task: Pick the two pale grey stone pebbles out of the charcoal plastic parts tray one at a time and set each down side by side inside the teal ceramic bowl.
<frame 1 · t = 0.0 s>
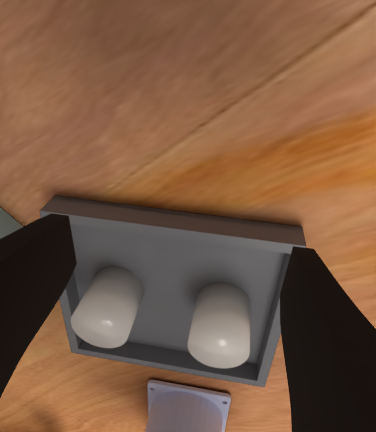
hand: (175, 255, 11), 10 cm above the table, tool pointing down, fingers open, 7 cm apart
parts tray: (171, 290, 26), on the table
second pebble: (119, 286, 26), resting on parts tray
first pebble: (223, 302, 25), resting on parts tray
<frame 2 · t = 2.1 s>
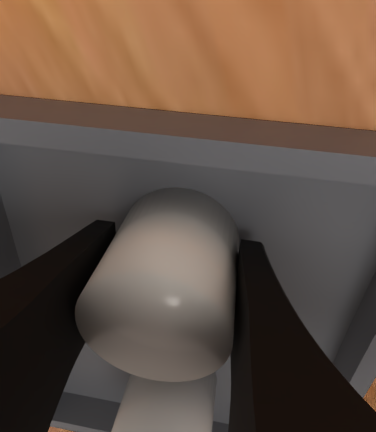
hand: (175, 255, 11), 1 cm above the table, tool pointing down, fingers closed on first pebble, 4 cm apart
parts tray: (179, 307, 14), on the table
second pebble: (174, 374, 16), resting on parts tray
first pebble: (180, 238, 12), point 1 cm above the table, touching gripper, parts tray
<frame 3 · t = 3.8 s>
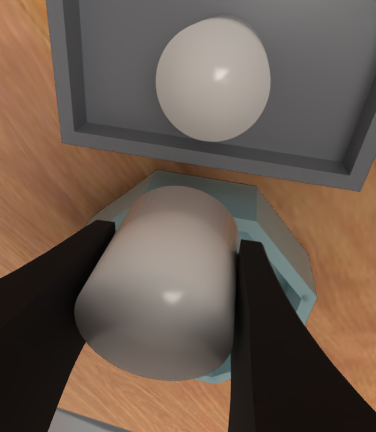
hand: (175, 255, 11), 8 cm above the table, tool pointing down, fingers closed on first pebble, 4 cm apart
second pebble: (221, 66, 15), resting on parts tray
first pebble: (180, 237, 12), point 8 cm above the table, touching gripper
bowl: (193, 268, 23), on the table
when the fingers open (4 cm above the table, at t = 5.5 s): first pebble drops 2 cm, resting on bowl.
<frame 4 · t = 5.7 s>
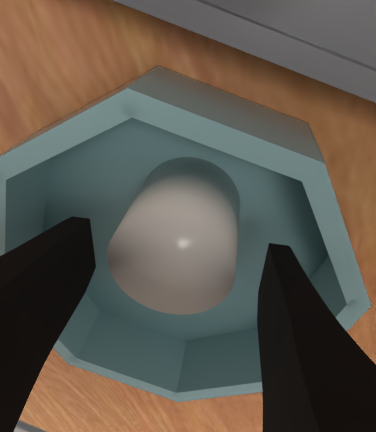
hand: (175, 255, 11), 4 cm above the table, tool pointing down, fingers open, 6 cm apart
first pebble: (190, 203, 14), point 1 cm above the table, touching bowl
bowl: (177, 237, 16), on the table
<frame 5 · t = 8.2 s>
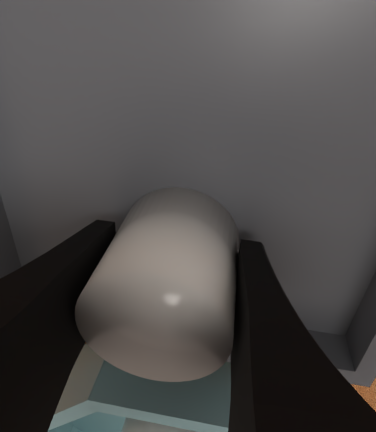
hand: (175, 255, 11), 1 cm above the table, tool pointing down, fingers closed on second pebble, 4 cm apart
parts tray: (189, 119, 10), on the table
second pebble: (180, 238, 12), resting on parts tray, touching gripper
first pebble: (171, 401, 17), point 1 cm above the table, touching bowl
bowl: (174, 413, 19), on the table
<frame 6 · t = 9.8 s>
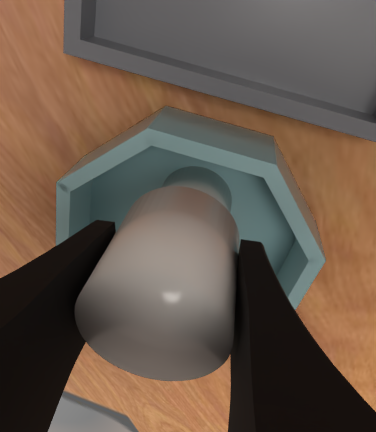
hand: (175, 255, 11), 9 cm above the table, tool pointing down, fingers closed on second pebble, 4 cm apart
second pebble: (180, 237, 12), point 8 cm above the table, touching gripper
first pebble: (195, 199, 19), point 1 cm above the table, touching bowl
bowl: (189, 226, 21), on the table
when the fingers open (4 cm above the table, at t = 11.5 s): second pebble drops 2 cm, resting on bowl.
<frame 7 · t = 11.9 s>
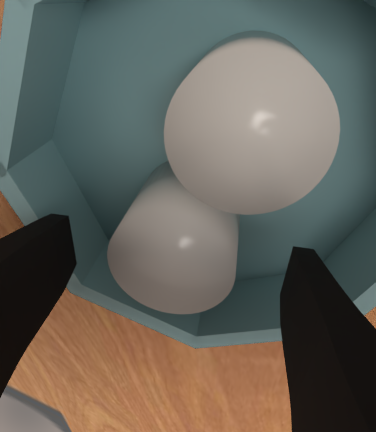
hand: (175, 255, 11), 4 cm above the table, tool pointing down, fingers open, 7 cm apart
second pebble: (190, 203, 14), point 1 cm above the table, touching bowl
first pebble: (249, 99, 11), point 1 cm above the table, touching bowl
bowl: (219, 151, 13), on the table
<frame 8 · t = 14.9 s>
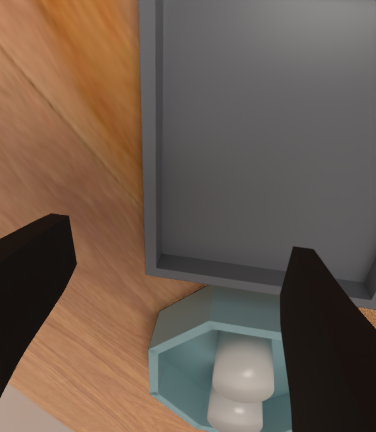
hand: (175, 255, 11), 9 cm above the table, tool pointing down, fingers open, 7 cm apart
parts tray: (282, 156, 18), on the table
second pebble: (237, 371, 28), point 1 cm above the table, touching bowl
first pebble: (244, 335, 26), point 1 cm above the table, touching bowl
bowl: (241, 348, 27), on the table
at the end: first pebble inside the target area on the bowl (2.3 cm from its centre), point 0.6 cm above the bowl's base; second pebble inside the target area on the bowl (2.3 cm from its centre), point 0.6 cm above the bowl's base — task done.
